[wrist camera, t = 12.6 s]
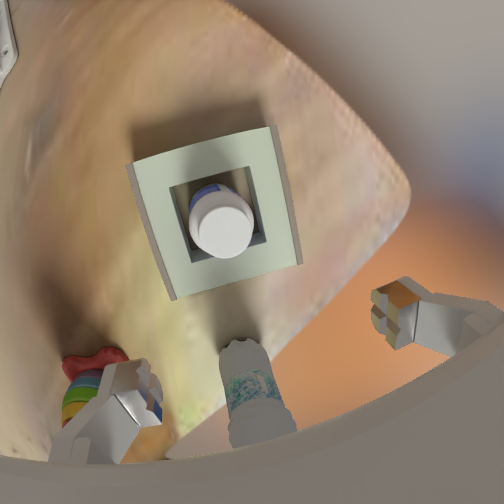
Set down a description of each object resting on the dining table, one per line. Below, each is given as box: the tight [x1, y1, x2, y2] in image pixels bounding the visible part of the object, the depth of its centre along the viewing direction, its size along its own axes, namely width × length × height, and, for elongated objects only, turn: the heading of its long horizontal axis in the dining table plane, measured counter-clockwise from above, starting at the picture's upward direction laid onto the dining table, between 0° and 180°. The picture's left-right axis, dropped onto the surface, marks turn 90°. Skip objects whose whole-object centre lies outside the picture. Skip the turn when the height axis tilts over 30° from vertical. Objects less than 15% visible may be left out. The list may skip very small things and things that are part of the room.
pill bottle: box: [189, 184, 254, 258], centre depth 26 cm, size 5×5×10 cm
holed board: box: [126, 125, 303, 301], centre depth 29 cm, size 14×14×4 cm
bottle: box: [219, 338, 297, 449], centre depth 28 cm, size 7×7×20 cm
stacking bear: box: [62, 347, 129, 428], centre depth 27 cm, size 11×10×18 cm
